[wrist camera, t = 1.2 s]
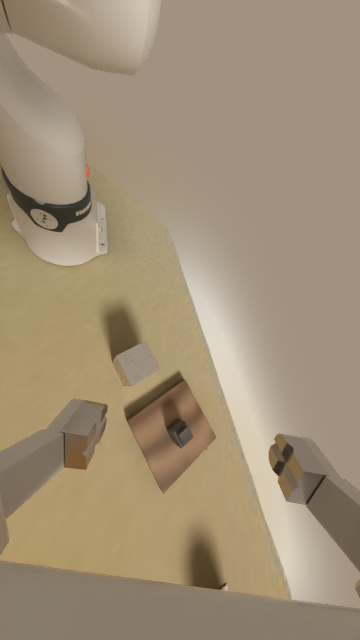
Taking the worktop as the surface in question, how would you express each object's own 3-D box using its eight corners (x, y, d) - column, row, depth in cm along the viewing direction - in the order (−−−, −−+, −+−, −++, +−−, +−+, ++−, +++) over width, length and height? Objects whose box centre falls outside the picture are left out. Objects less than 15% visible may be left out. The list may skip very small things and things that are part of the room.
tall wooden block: (112, 362, 36) (116, 355, 28) (135, 350, 39) (145, 340, 30) (123, 385, 36) (131, 386, 27) (146, 371, 39) (160, 368, 30)
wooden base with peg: (126, 419, 34) (131, 426, 28) (181, 379, 41) (195, 379, 35) (160, 488, 33) (173, 511, 27) (211, 435, 40) (231, 444, 34)
